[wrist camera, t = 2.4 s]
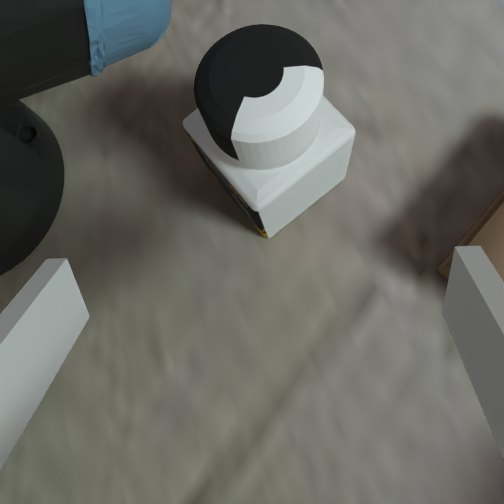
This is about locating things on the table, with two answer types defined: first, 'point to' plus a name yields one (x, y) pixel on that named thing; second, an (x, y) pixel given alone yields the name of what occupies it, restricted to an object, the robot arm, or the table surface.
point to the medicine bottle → (268, 124)
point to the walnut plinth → (485, 237)
